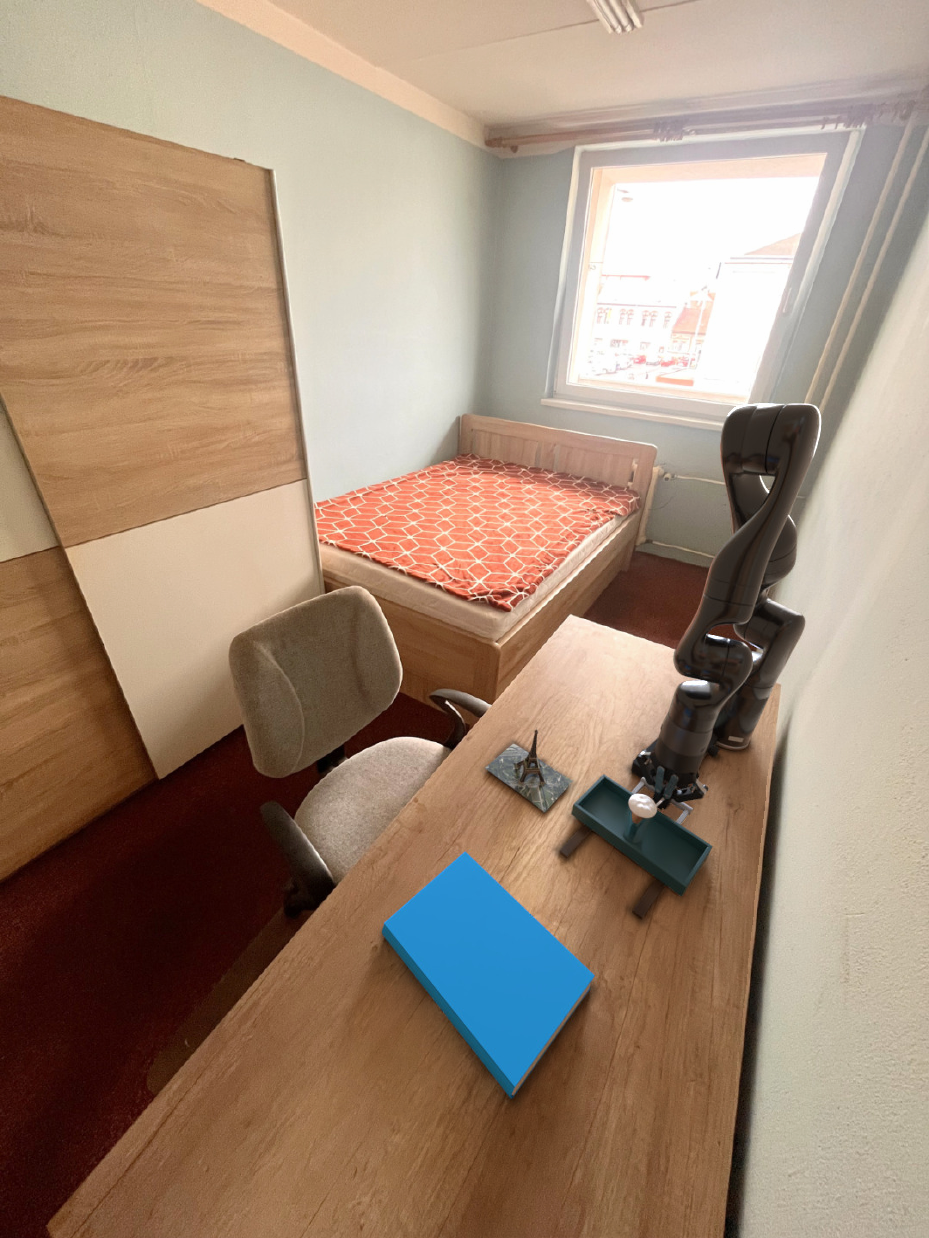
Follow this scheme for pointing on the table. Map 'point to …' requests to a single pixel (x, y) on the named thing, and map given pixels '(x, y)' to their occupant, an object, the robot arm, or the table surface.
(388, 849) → the table surface
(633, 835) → the milkshake
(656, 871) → the tray
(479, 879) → the book
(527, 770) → the eiffel tower figurine
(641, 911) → the runners
